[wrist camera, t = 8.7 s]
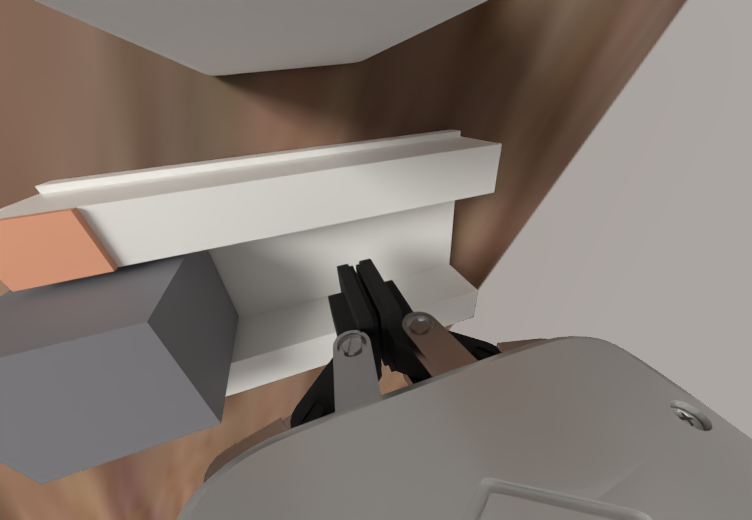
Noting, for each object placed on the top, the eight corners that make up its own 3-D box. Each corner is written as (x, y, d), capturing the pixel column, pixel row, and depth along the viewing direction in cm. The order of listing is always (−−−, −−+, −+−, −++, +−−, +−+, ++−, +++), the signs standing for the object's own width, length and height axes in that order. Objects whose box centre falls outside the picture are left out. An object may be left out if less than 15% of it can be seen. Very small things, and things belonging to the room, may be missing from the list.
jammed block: (199, 232, 13) (147, 321, 8) (238, 316, 17) (221, 423, 11) (54, 258, 12) (-132, 390, 7) (126, 344, 15) (41, 484, 10)
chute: (451, 129, 16) (507, 137, 12) (440, 285, 23) (475, 322, 19) (51, 180, 12) (-62, 219, 8) (178, 358, 18) (151, 429, 14)
